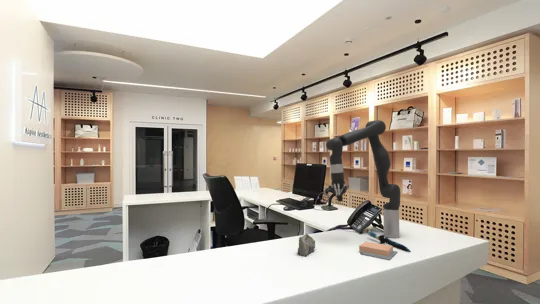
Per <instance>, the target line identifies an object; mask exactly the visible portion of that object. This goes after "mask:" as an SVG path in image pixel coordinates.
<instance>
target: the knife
mask: <svg viewBox="0 0 540 304" xmlns="http://www.w3.org/2000/svg"><path fill="white" fill-rule="evenodd" d="M366 233H367V235H368V236H369V237H371V238H374V239H376V240H378V241H379V244H383V245H385V244H386V245H389V246H393V248H396V249H397V250H401V251H404V252H406V253H407V252H408V253H412V251H411V249H409V248H408V247H407V246H406V245H405V244H402V243H399V242H396V241H393V240H392V239H391V238H390V239H389V237H385V236H384V234H382V235H379V234H377V233H375V232H373V231H371V230H369V229H366Z"/></svg>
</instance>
